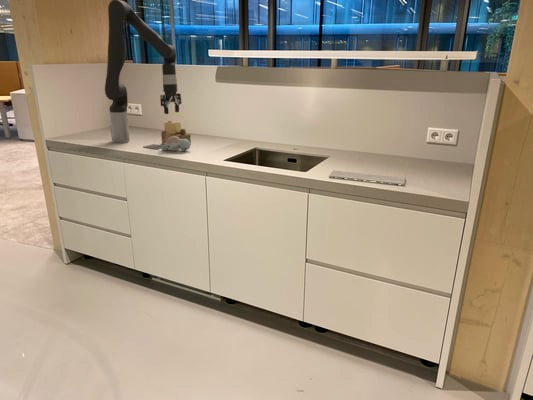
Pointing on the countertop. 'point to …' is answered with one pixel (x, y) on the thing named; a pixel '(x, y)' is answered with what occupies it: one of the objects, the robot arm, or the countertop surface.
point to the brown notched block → (180, 135)
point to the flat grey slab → (368, 177)
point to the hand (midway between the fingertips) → (171, 113)
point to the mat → (153, 146)
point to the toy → (176, 144)
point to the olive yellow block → (172, 127)
